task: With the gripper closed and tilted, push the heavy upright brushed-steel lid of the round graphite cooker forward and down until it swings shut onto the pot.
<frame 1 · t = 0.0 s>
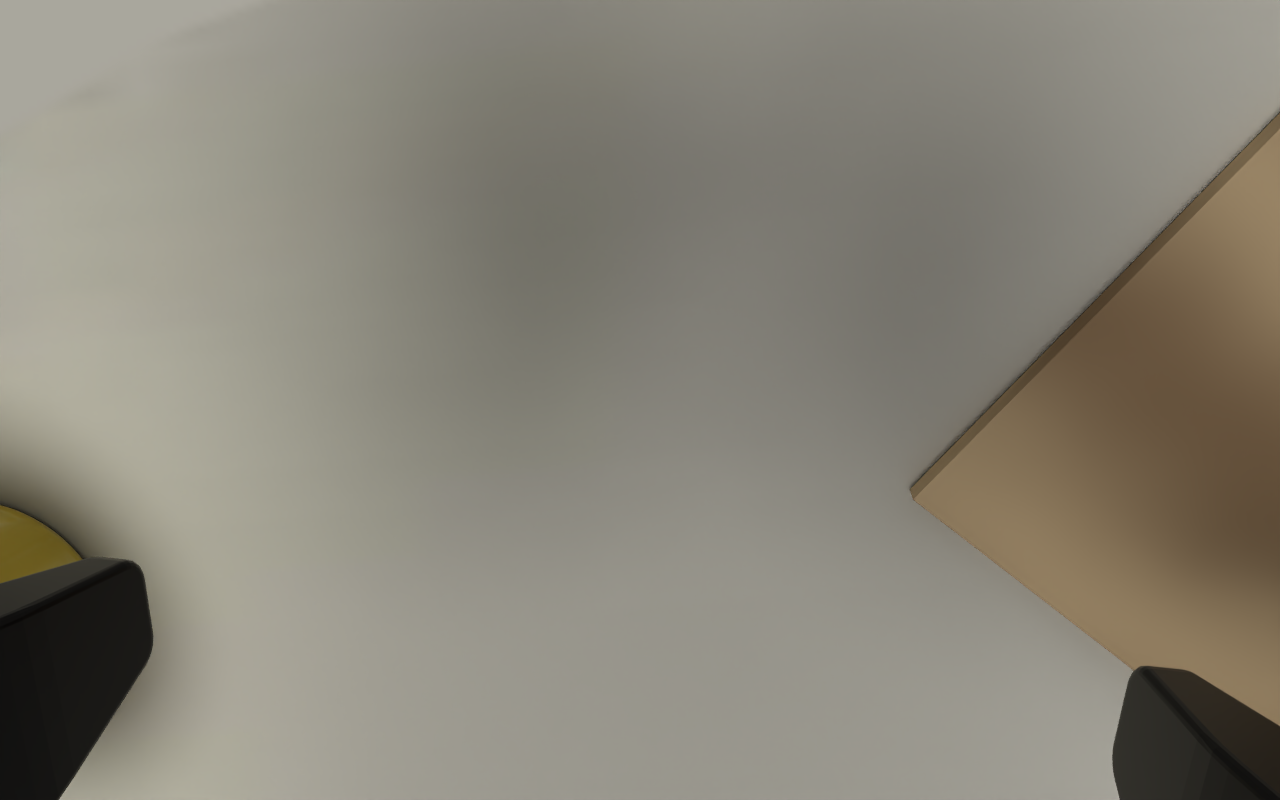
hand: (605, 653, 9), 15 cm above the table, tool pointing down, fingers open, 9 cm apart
plant pot: (14, 596, 29), on the table
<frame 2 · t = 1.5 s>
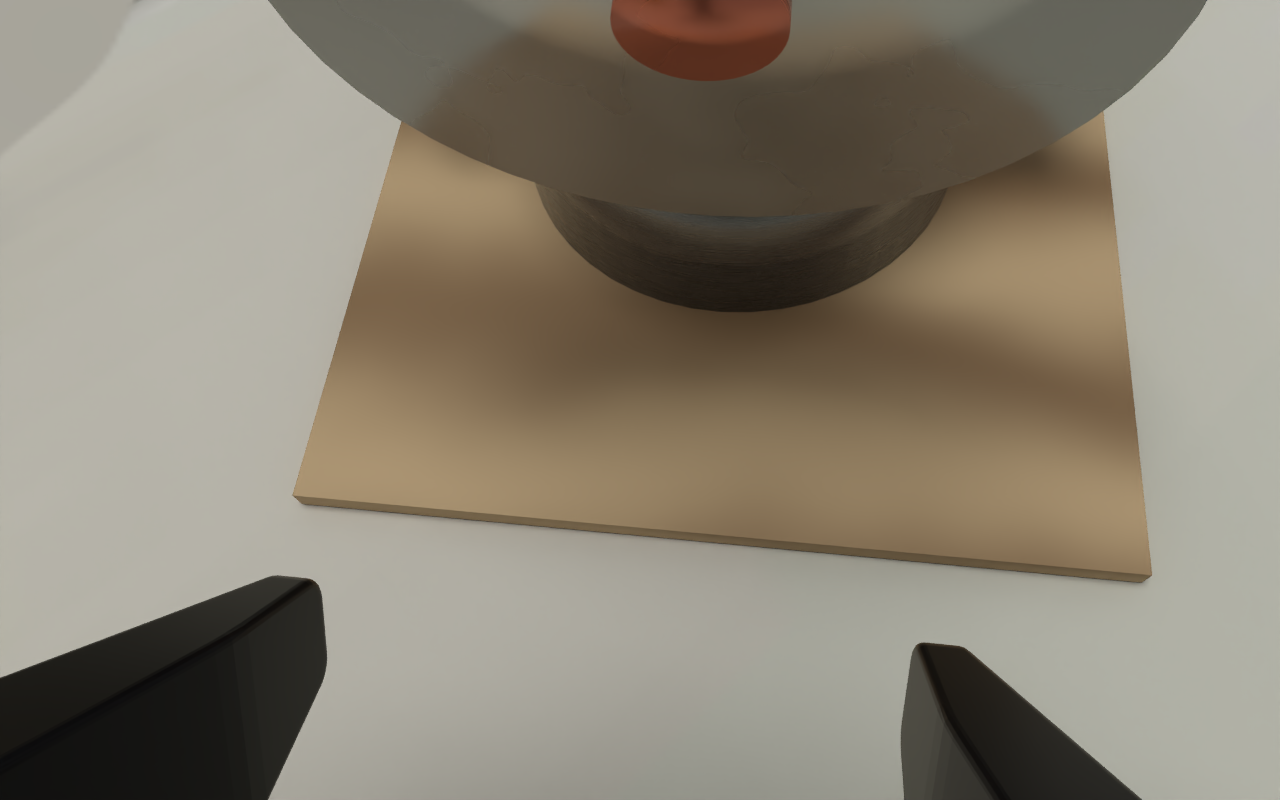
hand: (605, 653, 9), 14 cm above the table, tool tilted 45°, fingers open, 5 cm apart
cooker: (740, 51, 25), on the board, point 4 cm above the table
board: (739, 145, 28), on the table
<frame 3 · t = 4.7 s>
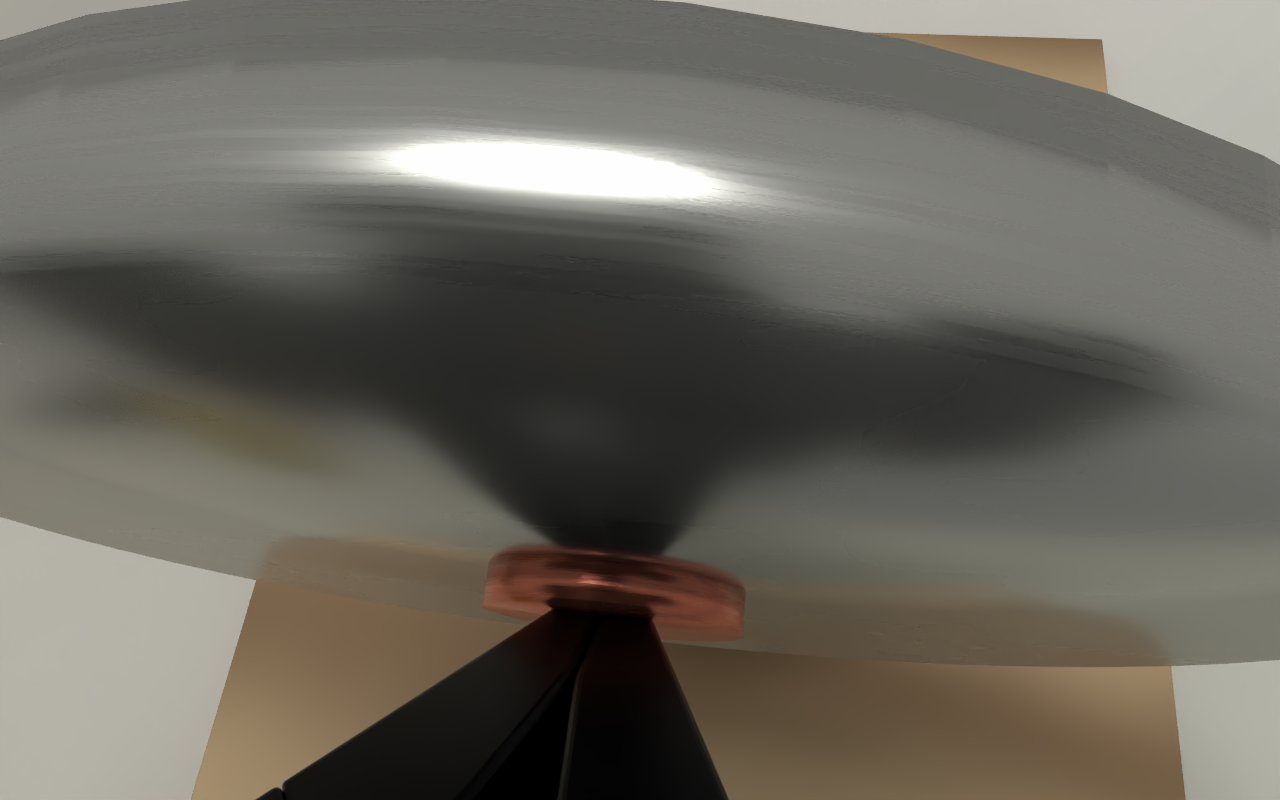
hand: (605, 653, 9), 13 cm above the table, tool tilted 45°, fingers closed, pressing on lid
board: (712, 400, 24), on the table
lid: (622, 537, 9), point 13 cm above the table, hinge at -96.9°, touching gripper
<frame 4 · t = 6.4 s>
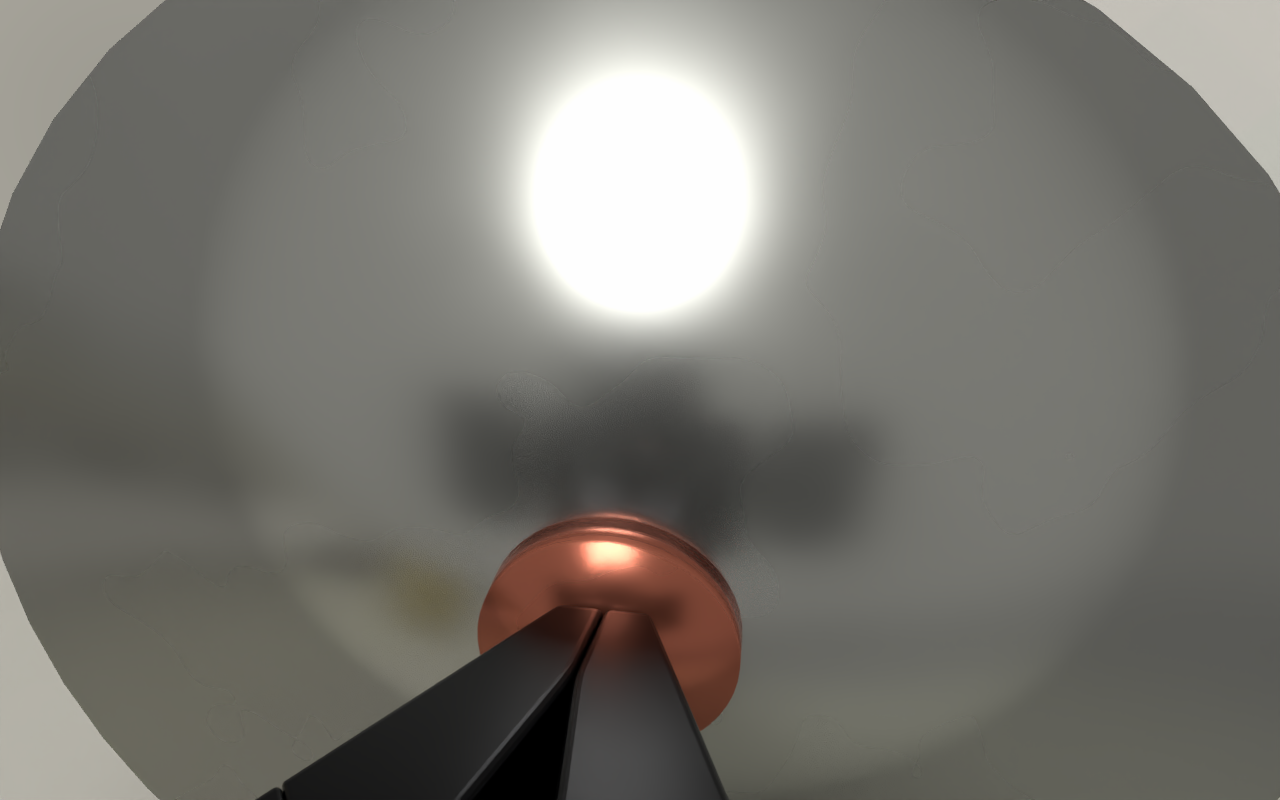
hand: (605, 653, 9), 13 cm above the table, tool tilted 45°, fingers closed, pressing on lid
lid: (620, 597, 9), point 12 cm above the table, hinge at -53.2°, touching gripper
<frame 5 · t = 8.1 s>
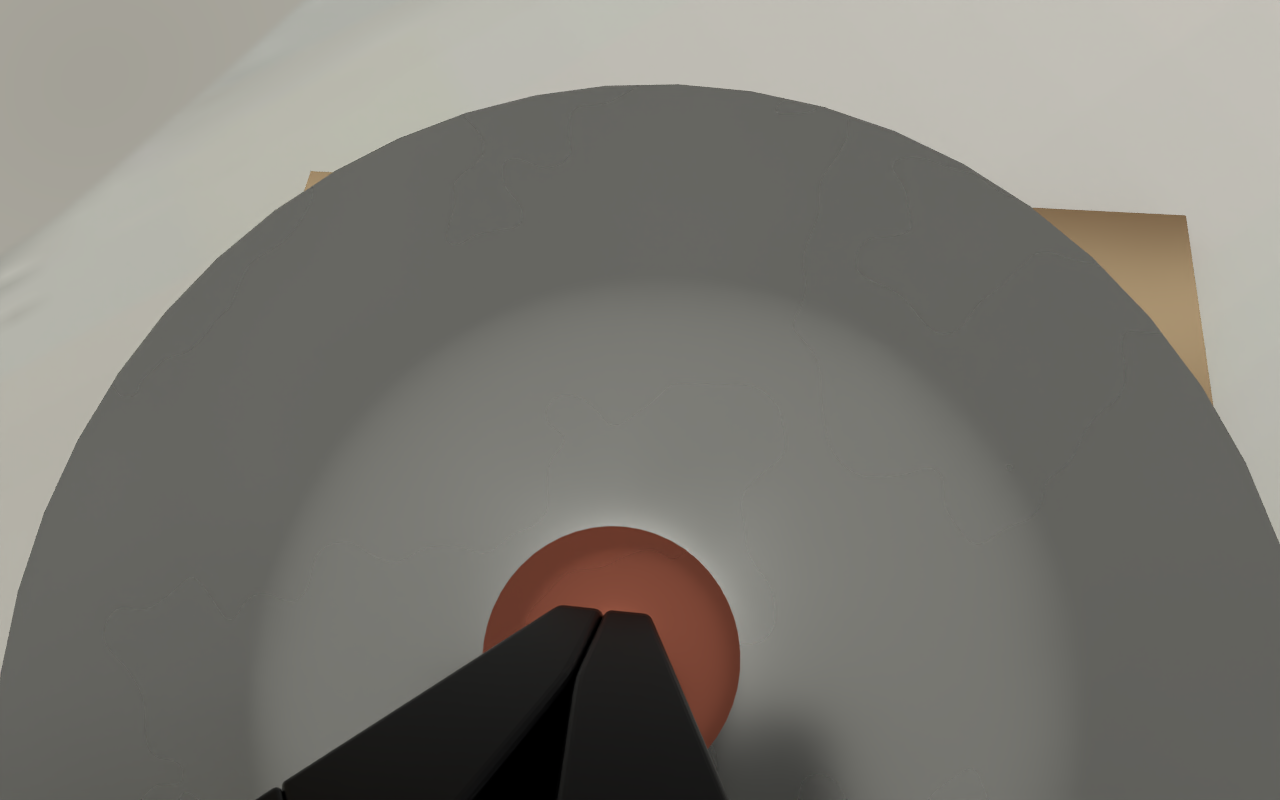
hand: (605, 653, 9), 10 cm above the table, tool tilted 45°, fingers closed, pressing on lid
board: (667, 742, 18), on the table
lid: (619, 657, 10), point 9 cm above the table, hinge at -10.2°, touching gripper
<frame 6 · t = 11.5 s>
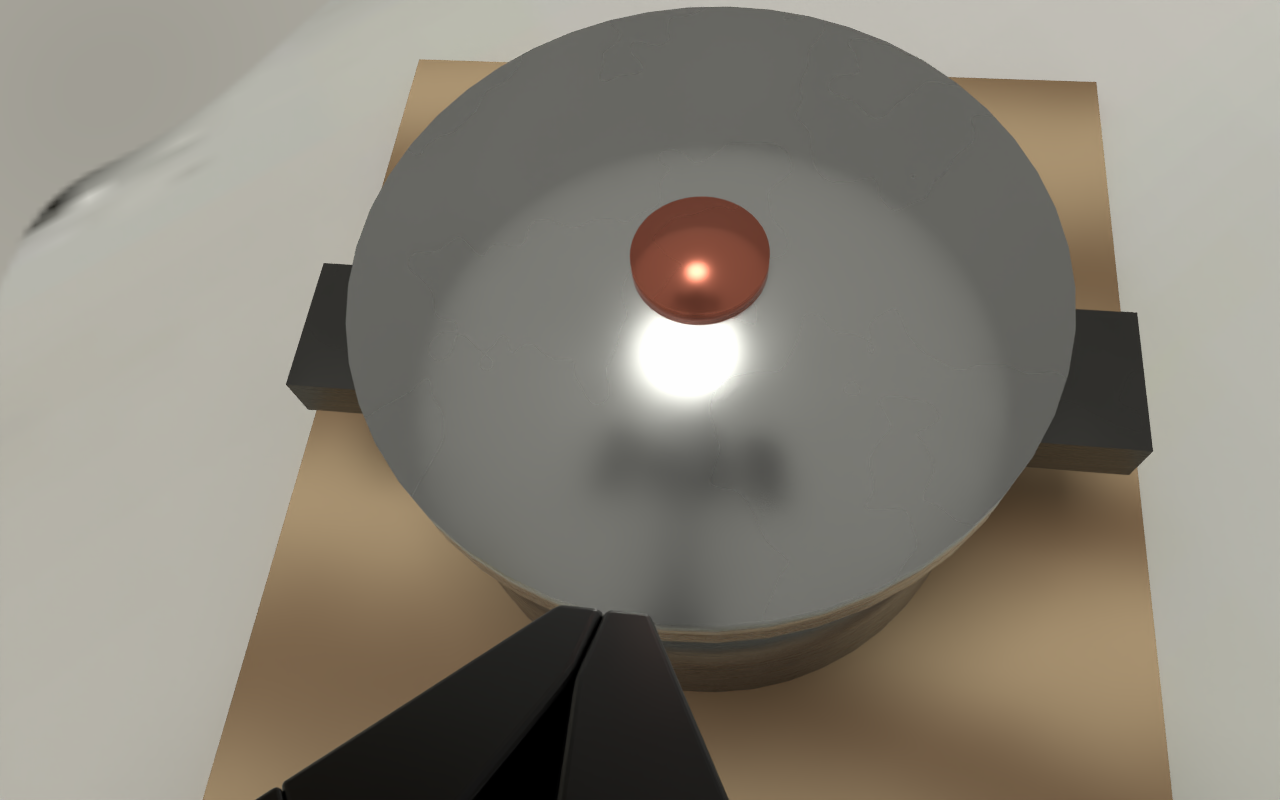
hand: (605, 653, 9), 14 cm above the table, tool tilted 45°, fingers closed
cooker: (704, 383, 21), on the board, point 4 cm above the table
board: (706, 448, 24), on the table
lid: (700, 278, 17), point 8 cm above the table, hinge at 0.1°
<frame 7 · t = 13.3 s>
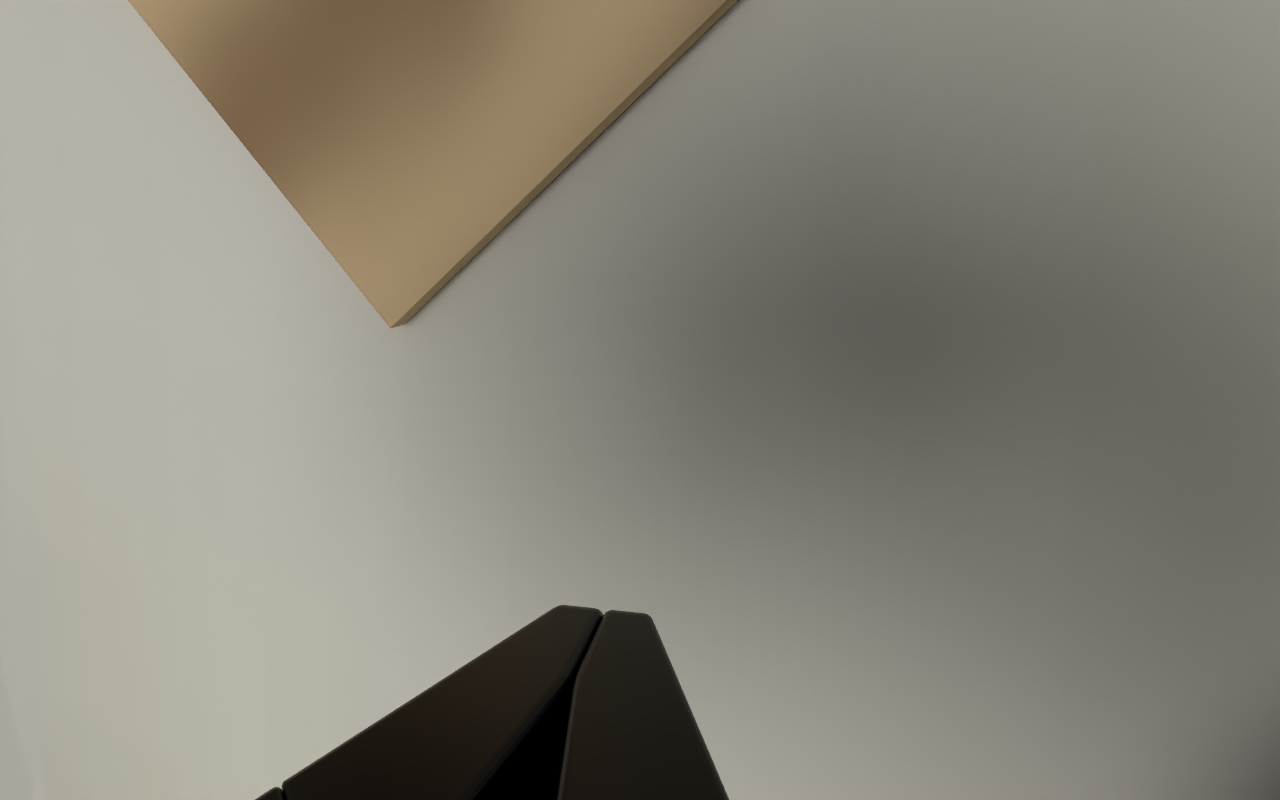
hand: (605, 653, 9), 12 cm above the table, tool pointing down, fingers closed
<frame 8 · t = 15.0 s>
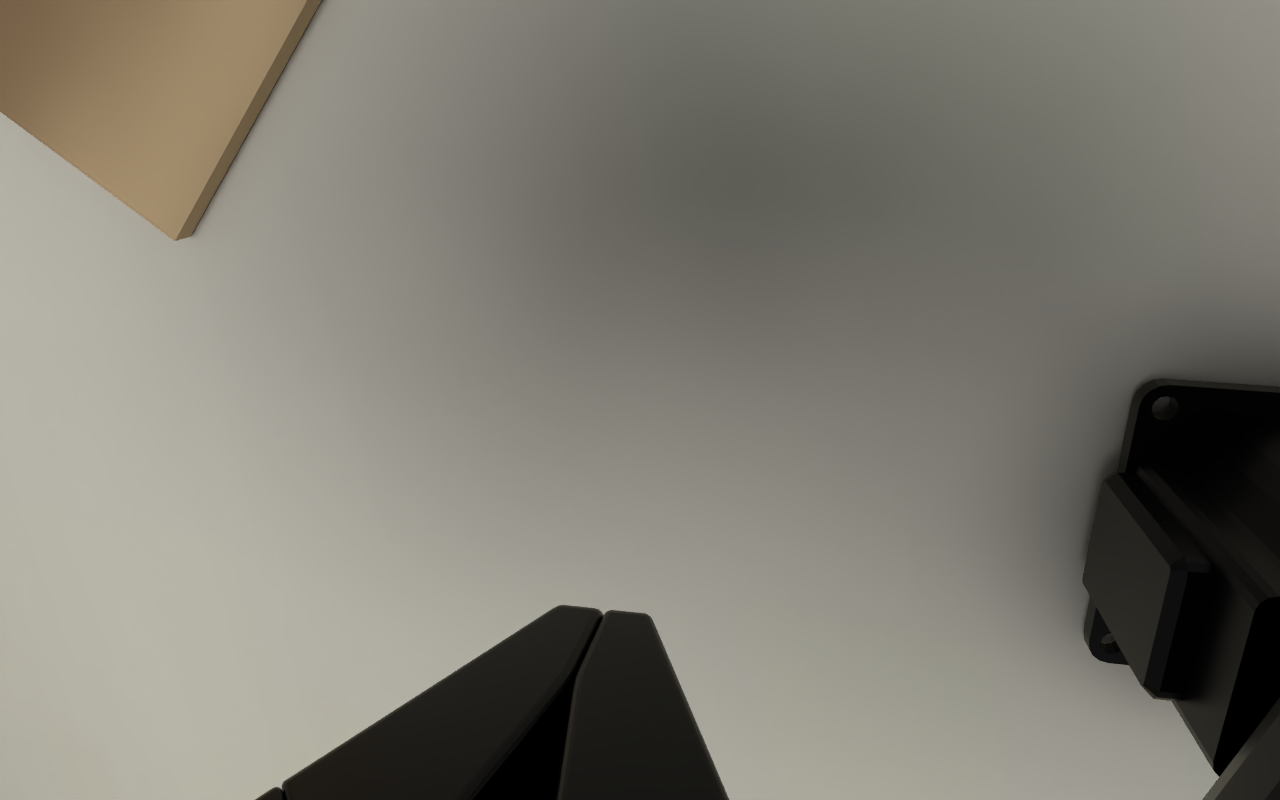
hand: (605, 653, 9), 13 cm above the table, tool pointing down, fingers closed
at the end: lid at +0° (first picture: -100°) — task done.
